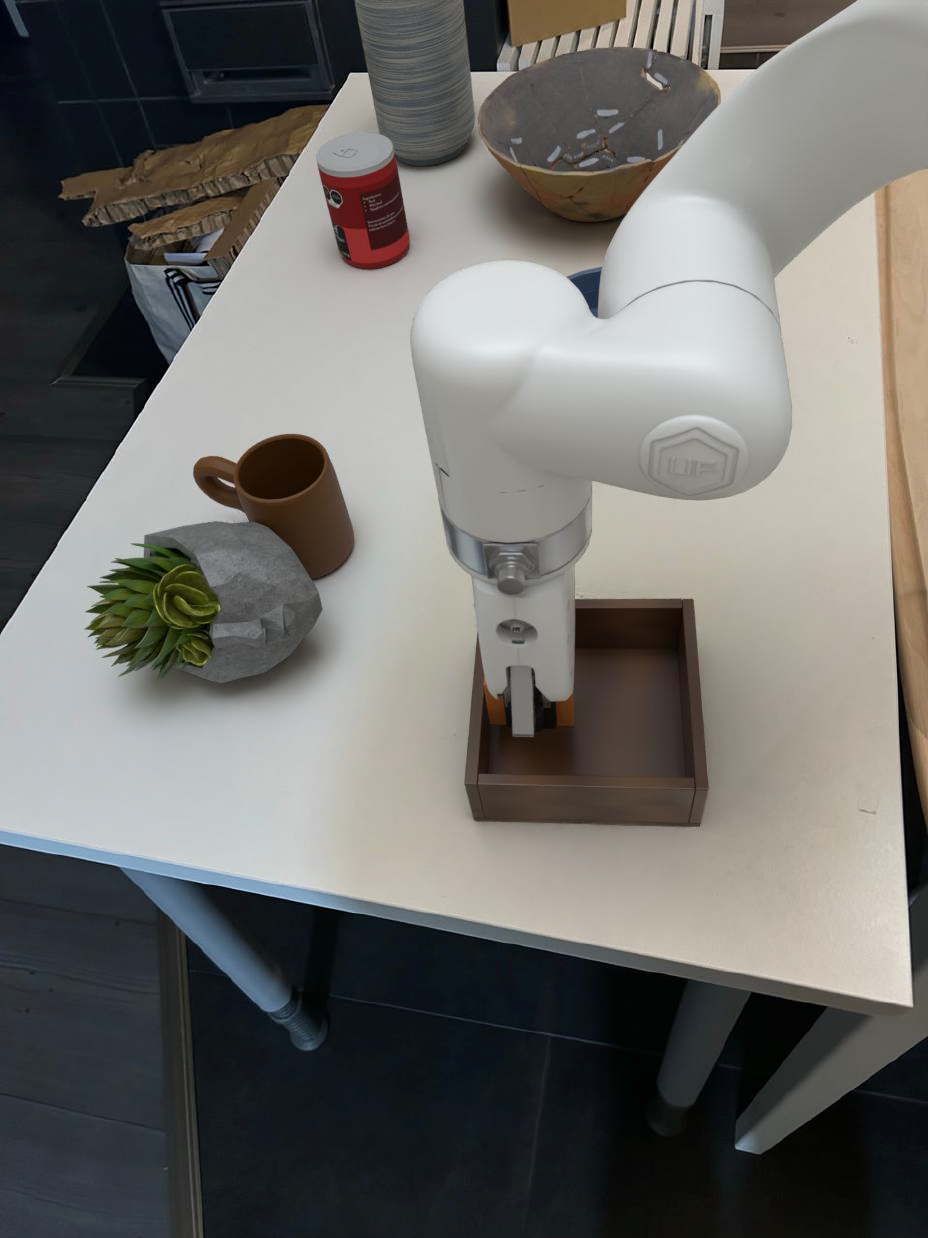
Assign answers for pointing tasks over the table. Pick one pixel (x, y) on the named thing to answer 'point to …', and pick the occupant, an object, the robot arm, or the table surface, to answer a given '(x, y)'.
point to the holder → (605, 728)
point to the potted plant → (207, 602)
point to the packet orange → (498, 711)
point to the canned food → (364, 198)
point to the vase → (419, 76)
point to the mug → (286, 496)
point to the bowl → (595, 125)
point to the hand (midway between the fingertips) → (533, 695)
